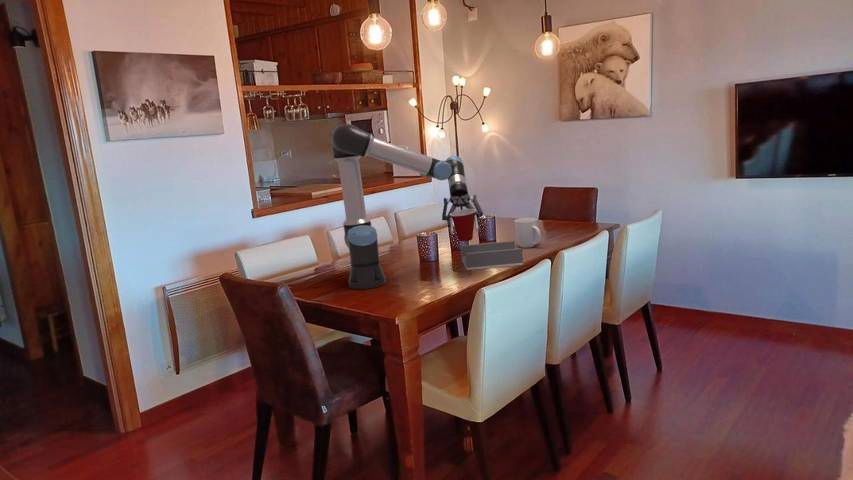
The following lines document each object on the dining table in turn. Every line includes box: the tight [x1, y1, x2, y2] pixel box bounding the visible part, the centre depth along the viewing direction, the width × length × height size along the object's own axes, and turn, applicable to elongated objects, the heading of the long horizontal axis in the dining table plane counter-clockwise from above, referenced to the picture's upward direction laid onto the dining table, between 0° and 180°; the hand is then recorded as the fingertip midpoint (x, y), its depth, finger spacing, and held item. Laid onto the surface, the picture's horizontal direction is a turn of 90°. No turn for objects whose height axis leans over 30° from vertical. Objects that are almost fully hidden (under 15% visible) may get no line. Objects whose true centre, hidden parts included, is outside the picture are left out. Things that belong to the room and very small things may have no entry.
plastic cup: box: [450, 208, 477, 242], centre depth 239 cm, size 11×11×12 cm
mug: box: [514, 217, 542, 249], centre depth 282 cm, size 15×11×13 cm
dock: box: [461, 240, 524, 271], centre depth 258 cm, size 24×18×7 cm
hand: (464, 231), depth 236 cm, fingers closed on plastic cup, 9 cm apart
